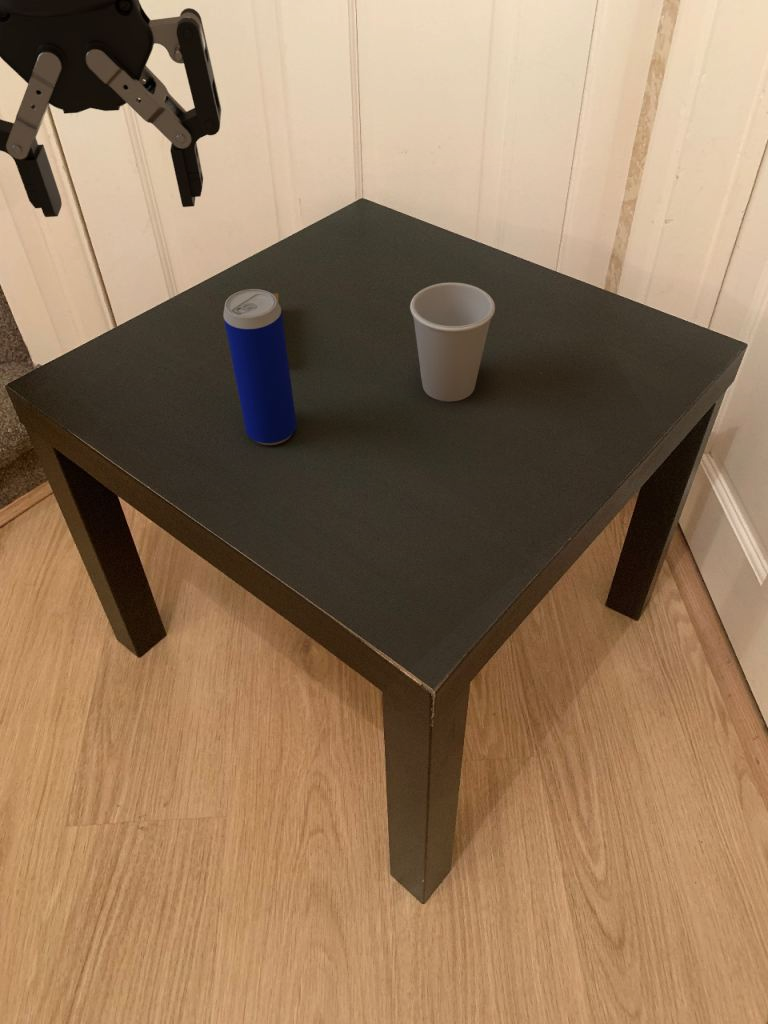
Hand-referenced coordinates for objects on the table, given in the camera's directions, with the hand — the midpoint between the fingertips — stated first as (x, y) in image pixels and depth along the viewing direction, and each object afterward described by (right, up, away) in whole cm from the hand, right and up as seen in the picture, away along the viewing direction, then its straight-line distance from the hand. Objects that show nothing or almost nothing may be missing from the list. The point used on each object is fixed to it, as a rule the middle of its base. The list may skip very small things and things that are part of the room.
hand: (121, 206), depth 50 cm
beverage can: (+5, -11, +31) cm, 33 cm away
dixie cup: (+24, -6, +35) cm, 43 cm away
